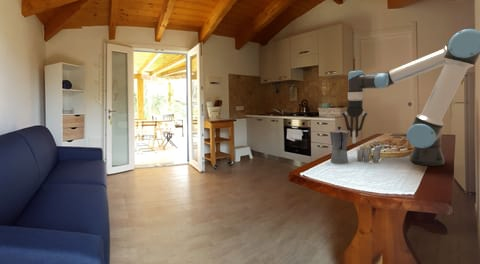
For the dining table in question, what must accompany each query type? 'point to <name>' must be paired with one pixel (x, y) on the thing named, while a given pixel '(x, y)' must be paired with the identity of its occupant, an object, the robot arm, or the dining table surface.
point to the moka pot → (339, 146)
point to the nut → (369, 156)
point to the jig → (366, 154)
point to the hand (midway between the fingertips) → (354, 142)
